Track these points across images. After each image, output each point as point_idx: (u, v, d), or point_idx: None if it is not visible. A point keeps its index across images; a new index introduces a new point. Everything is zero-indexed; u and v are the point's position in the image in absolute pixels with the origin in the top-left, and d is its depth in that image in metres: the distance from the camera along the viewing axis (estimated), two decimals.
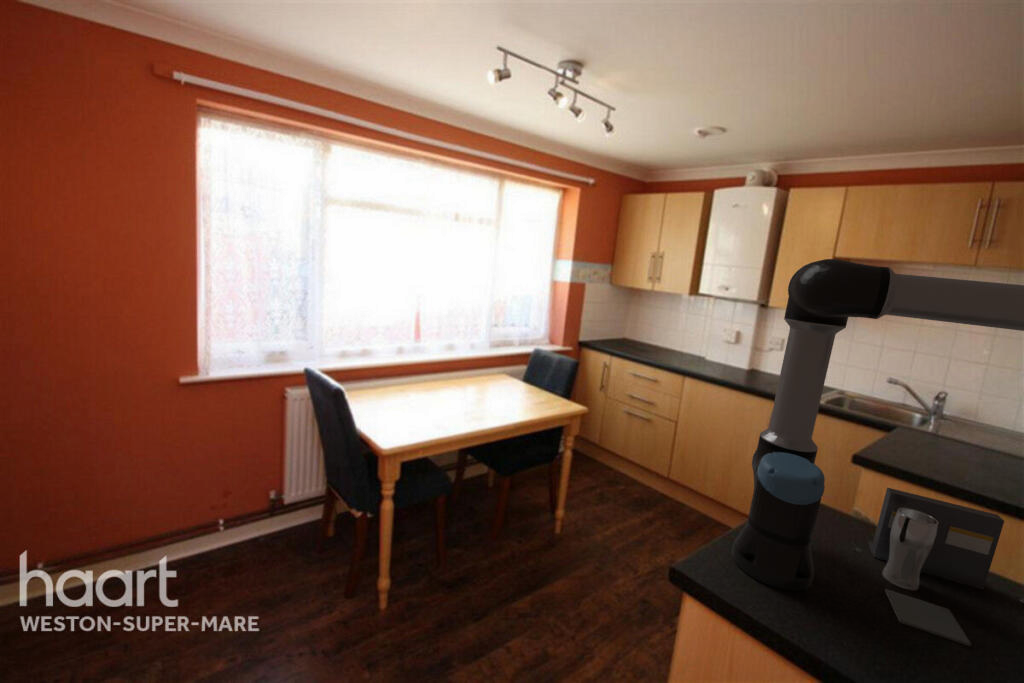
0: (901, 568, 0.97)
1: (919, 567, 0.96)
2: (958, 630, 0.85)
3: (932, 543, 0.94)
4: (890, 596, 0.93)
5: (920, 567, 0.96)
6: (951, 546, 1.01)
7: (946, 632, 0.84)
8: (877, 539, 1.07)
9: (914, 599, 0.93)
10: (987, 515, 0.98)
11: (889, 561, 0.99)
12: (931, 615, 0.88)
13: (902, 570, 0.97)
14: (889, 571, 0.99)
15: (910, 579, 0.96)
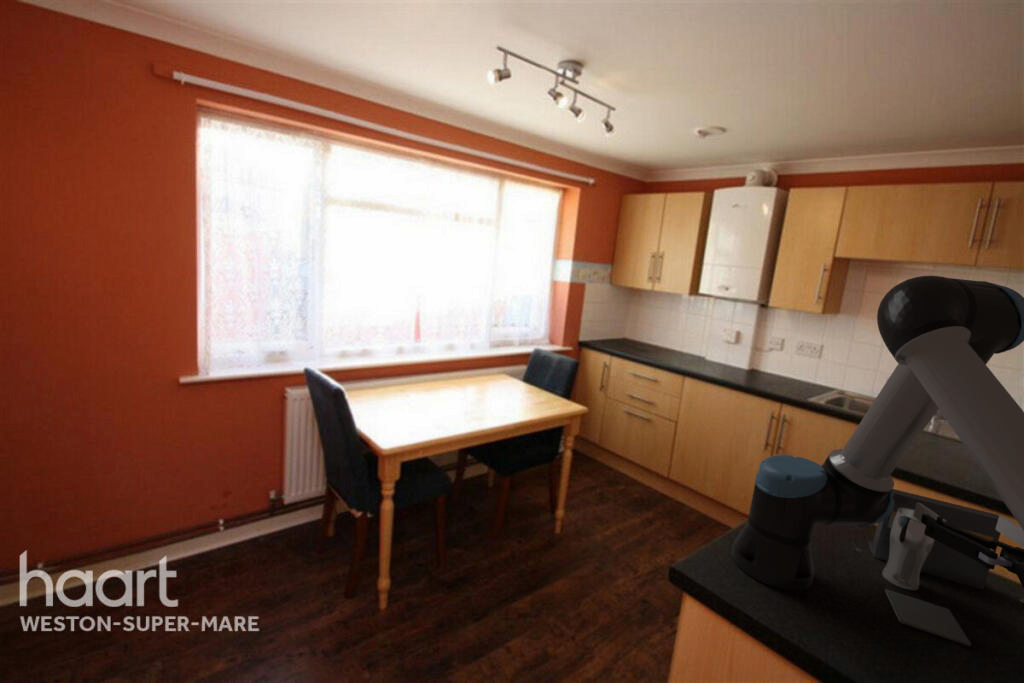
0: (901, 568, 0.97)
1: (919, 567, 0.96)
2: (958, 630, 0.85)
3: (932, 543, 0.94)
4: (890, 596, 0.93)
5: (920, 567, 0.96)
6: None
7: (946, 632, 0.84)
8: (877, 539, 1.07)
9: (914, 599, 0.93)
10: (987, 515, 0.98)
11: (889, 561, 0.99)
12: (931, 615, 0.88)
13: (902, 570, 0.97)
14: (889, 571, 0.99)
15: (910, 579, 0.96)
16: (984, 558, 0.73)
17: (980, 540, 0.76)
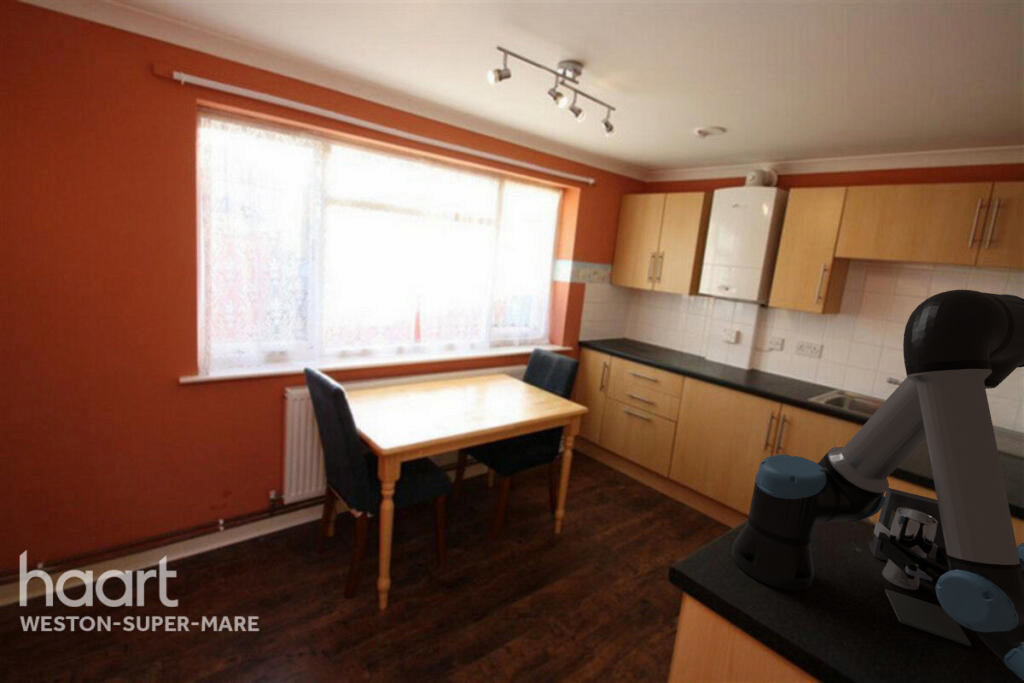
0: None
1: None
2: (958, 630, 0.85)
3: (931, 543, 0.94)
4: (890, 596, 0.93)
5: None
6: None
7: (946, 632, 0.84)
8: (877, 539, 1.07)
9: (914, 599, 0.93)
10: None
11: (889, 561, 0.99)
12: (931, 615, 0.88)
13: (901, 570, 0.97)
14: (889, 571, 0.99)
15: (910, 579, 0.96)
16: (907, 569, 0.88)
17: (915, 557, 0.91)
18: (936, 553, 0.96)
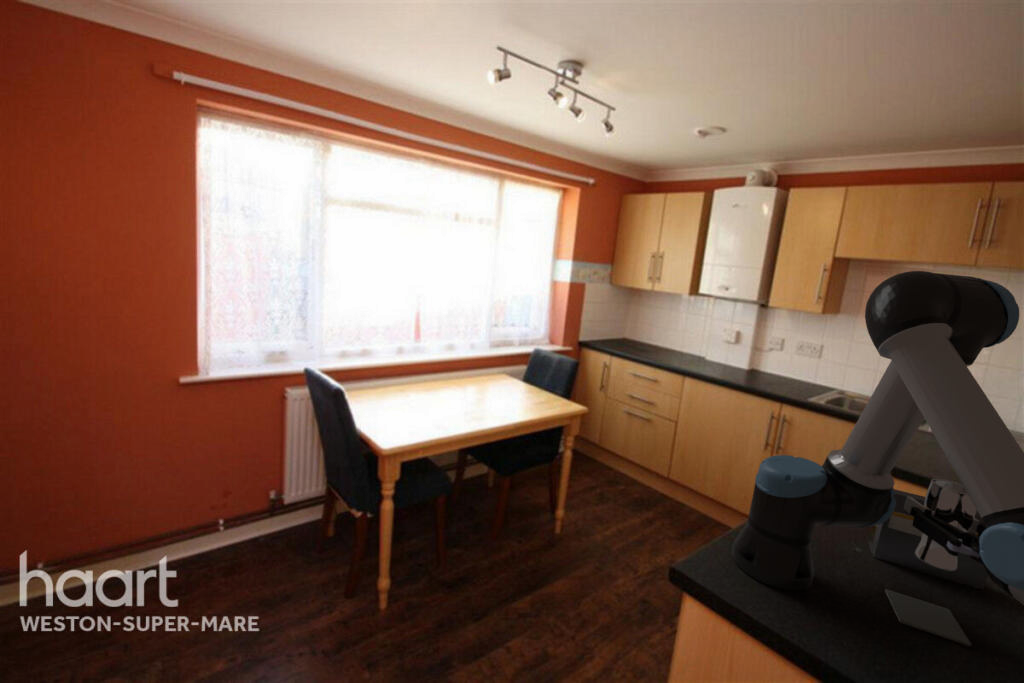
0: (937, 546, 0.86)
1: None
2: (958, 630, 0.85)
3: (972, 516, 0.84)
4: (890, 596, 0.93)
5: None
6: None
7: (946, 632, 0.84)
8: (877, 539, 1.07)
9: (914, 599, 0.93)
10: None
11: (923, 539, 0.89)
12: (931, 615, 0.88)
13: (938, 548, 0.86)
14: (923, 550, 0.88)
15: (948, 558, 0.85)
16: (949, 545, 0.77)
17: (956, 531, 0.80)
18: (976, 528, 0.85)
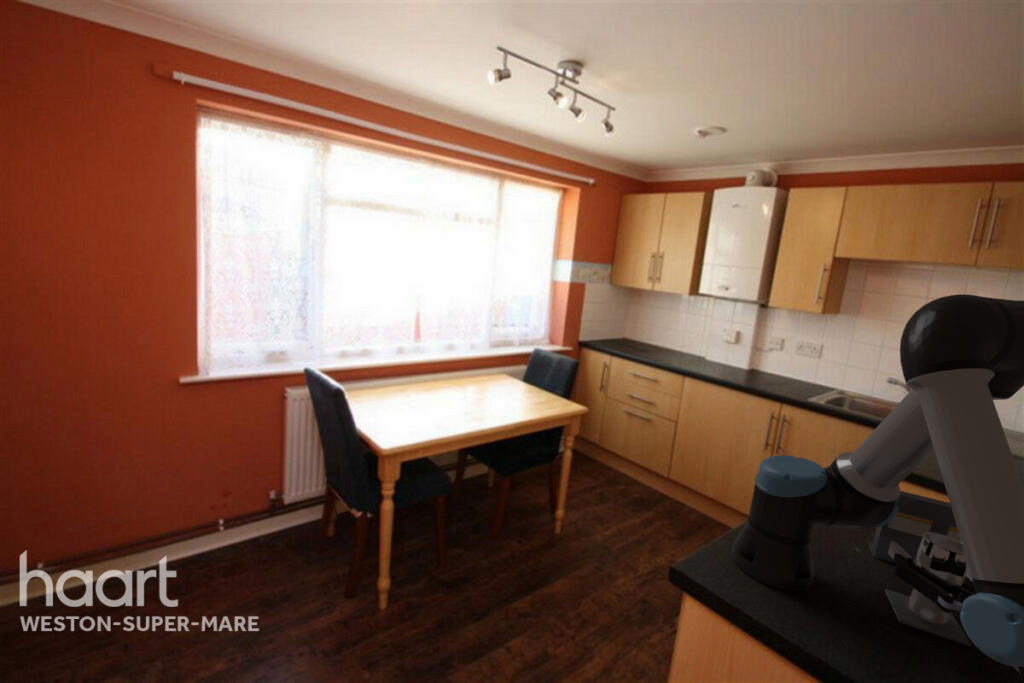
0: (928, 601, 0.86)
1: None
2: (958, 630, 0.85)
3: (964, 574, 0.83)
4: (890, 596, 0.93)
5: None
6: None
7: (946, 632, 0.84)
8: (877, 539, 1.07)
9: None
10: None
11: (914, 592, 0.89)
12: None
13: (929, 604, 0.86)
14: (914, 604, 0.88)
15: (938, 614, 0.85)
16: (941, 601, 0.76)
17: (944, 584, 0.80)
18: None
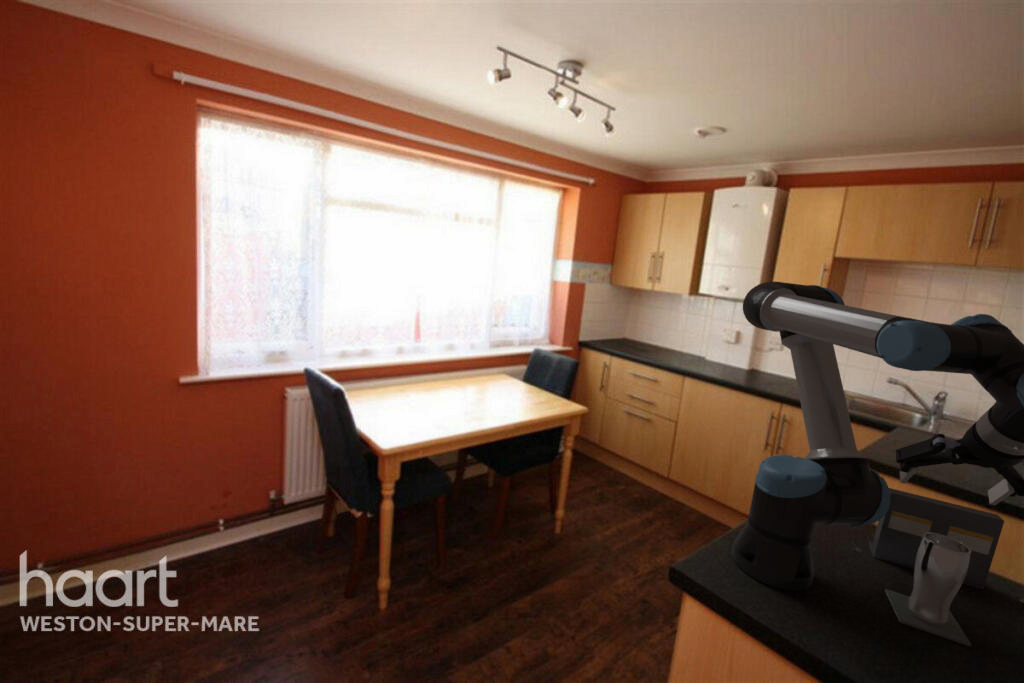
0: (928, 601, 0.86)
1: (949, 601, 0.85)
2: (958, 630, 0.85)
3: (964, 574, 0.83)
4: (890, 596, 0.93)
5: (950, 600, 0.85)
6: None
7: (946, 632, 0.84)
8: (877, 539, 1.07)
9: None
10: (987, 515, 0.98)
11: (914, 592, 0.89)
12: None
13: (929, 604, 0.86)
14: (914, 604, 0.88)
15: (938, 614, 0.85)
16: (935, 440, 0.83)
17: None
18: None
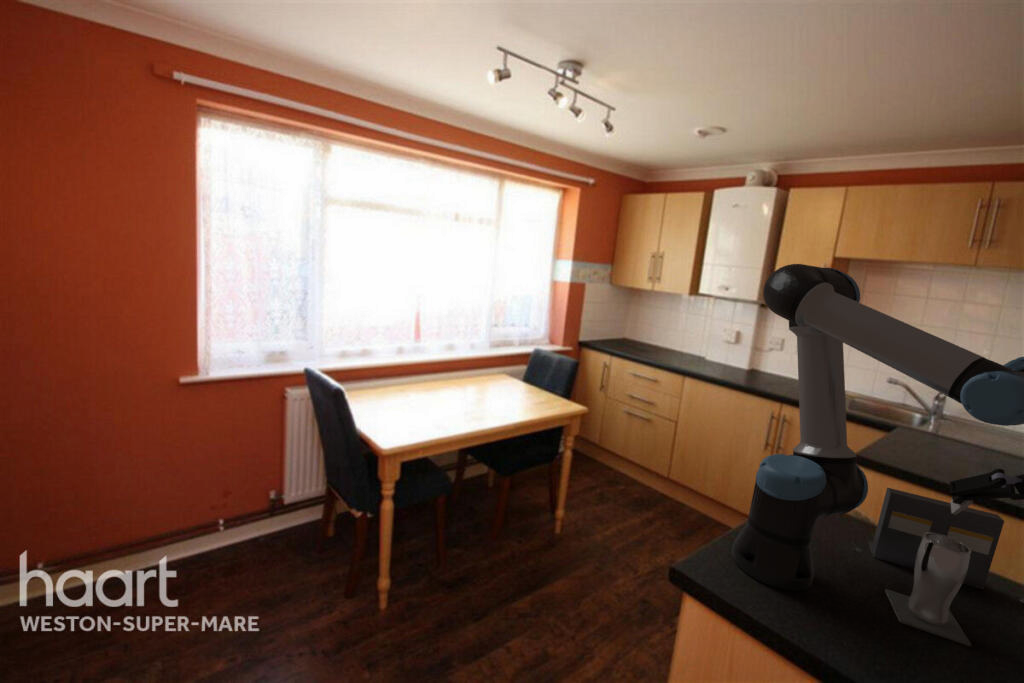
0: (928, 601, 0.86)
1: (949, 601, 0.85)
2: (958, 630, 0.85)
3: (964, 574, 0.83)
4: (890, 596, 0.93)
5: (950, 600, 0.85)
6: None
7: (946, 632, 0.84)
8: (877, 539, 1.07)
9: None
10: (987, 515, 0.98)
11: (914, 592, 0.89)
12: None
13: (929, 604, 0.86)
14: (914, 604, 0.88)
15: (938, 614, 0.85)
16: (995, 476, 0.82)
17: None
18: None
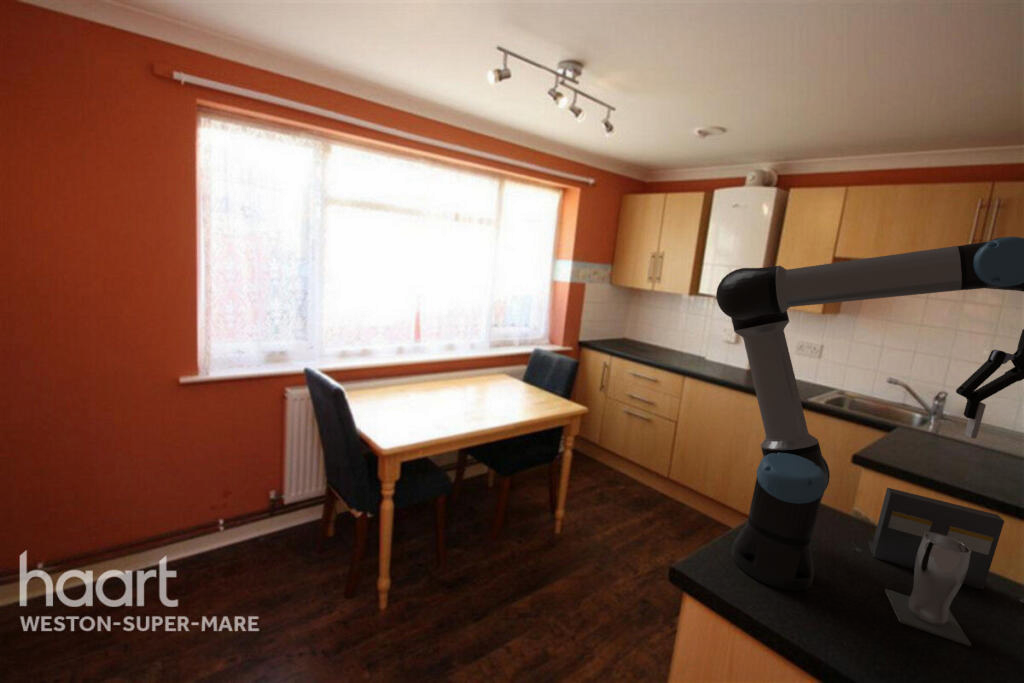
0: (928, 601, 0.86)
1: (949, 601, 0.85)
2: (958, 630, 0.85)
3: (964, 574, 0.83)
4: (890, 596, 0.93)
5: (950, 600, 0.85)
6: None
7: (946, 632, 0.84)
8: (877, 539, 1.07)
9: None
10: (987, 515, 0.98)
11: (914, 592, 0.89)
12: None
13: (929, 604, 0.86)
14: (914, 604, 0.88)
15: (938, 614, 0.85)
16: (993, 354, 0.85)
17: (1000, 377, 0.85)
18: None
